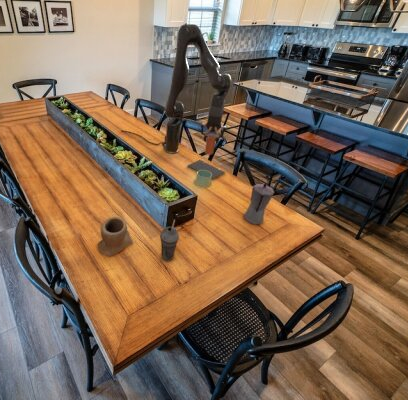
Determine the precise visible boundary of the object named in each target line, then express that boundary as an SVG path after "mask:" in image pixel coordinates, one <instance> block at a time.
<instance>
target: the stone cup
mask: <svg viewBox="0 0 408 400" xmlns="http://www.w3.org/2000/svg"><path fill="white" fill-rule="evenodd" d="M100 237H101V239H100V240H99V241H98V242H97V244H96V246H97V250H98V251H99V252H100V253H101V254H102V256H106V257H111V256H115V255H116V254H118V253H120V252H121V251H123V250H124V249H126V248H127V247H129V246H130V245H132V244H133V238H132V237H131V236H130V232H129V230H128V225H127V222H126V221H125V219H124V218H122V217H120V216H111V217H108V218H107V219H105V220H104V221H103V222H102V224H101V226H100Z"/></svg>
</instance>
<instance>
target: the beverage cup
mask: <svg viewBox="0 0 408 400" xmlns="http://www.w3.org/2000/svg"><path fill="white" fill-rule="evenodd" d="M172 221H173V222H172V226H165V227H164V228H163V229H162V230H161V232H160V235H159V238H160V243H161V245H160V246H161V249H160V250H161V258H162V260H163V261H164V262H171V261H172V260H174V256H175V252H176V248H177V244H178V242H179V239H180V236H179V235H180V233H179V232H178V230H177V229H176V228H175V227H174V226H175V223H176V219H173V220H172Z"/></svg>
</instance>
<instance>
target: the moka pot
mask: <svg viewBox="0 0 408 400" xmlns="http://www.w3.org/2000/svg"><path fill="white" fill-rule="evenodd" d="M274 194H275V191H274V189H273V188H272V187H270V186H268V184H266V183H262V184H261V183H256V184H254V185H253V186H252V190H251V196H250V204H249V206H248V207H247V209H246V211H245V213H244V217H243V218H244V219H245V220H246V221H247V223H250V224H252V225H260V224H262V223H263V221H264V217H265V211H266V208H267V206H268V205H269V203H270V201H271V200H272V198H273V195H274Z"/></svg>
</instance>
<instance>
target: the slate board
mask: <svg viewBox="0 0 408 400" xmlns="http://www.w3.org/2000/svg"><path fill="white" fill-rule="evenodd" d="M187 167H188V168H190V169H191V170H193V171H195V172H197V171H199V170H207V171H210V172H211V173H212V178H211V181H213V180H216V179H217V178H219V177H221V176H222V175H224V174H225V173H226V171H225V170H222V169H220V168H218V167H216V166H214V165H213V164H210V163H208V162H206V161H204V160H201V159H198V160H196V161H194V162H191V163H189V164H187Z"/></svg>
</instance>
